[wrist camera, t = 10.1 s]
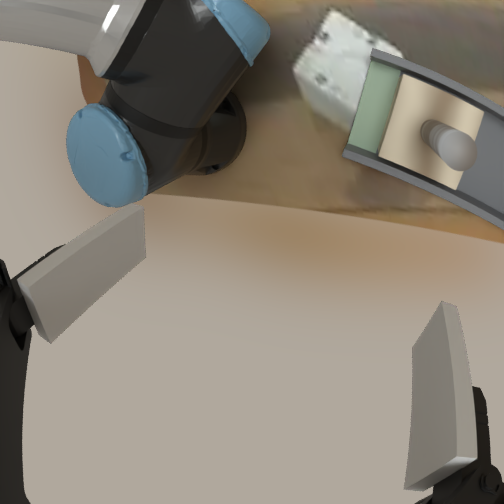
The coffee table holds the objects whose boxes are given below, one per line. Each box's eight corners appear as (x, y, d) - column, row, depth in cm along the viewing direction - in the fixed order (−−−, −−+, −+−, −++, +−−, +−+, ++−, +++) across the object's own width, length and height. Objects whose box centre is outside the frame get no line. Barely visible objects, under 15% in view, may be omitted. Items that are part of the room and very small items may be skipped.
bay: (346, 148, 40) (341, 156, 36) (372, 54, 33) (372, 48, 28) (519, 229, 34) (533, 247, 29) (553, 148, 27) (572, 158, 22)
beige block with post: (378, 146, 38) (379, 185, 22) (398, 77, 32) (417, 63, 17) (444, 175, 36) (485, 234, 20) (467, 108, 30) (529, 123, 15)
